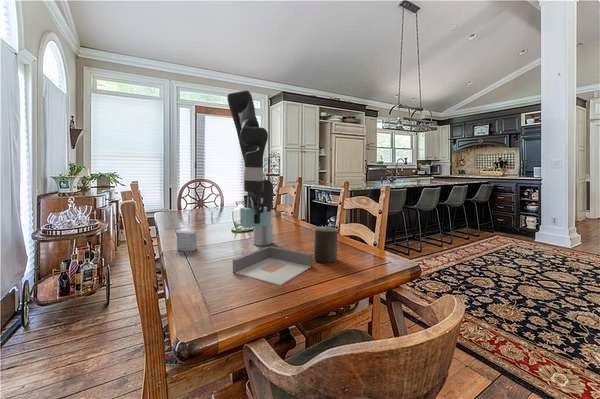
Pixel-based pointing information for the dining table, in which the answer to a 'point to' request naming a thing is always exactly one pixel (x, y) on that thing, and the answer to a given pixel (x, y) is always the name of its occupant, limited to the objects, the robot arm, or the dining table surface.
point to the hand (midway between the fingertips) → (253, 222)
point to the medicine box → (186, 241)
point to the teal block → (252, 217)
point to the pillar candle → (325, 244)
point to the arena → (272, 264)
